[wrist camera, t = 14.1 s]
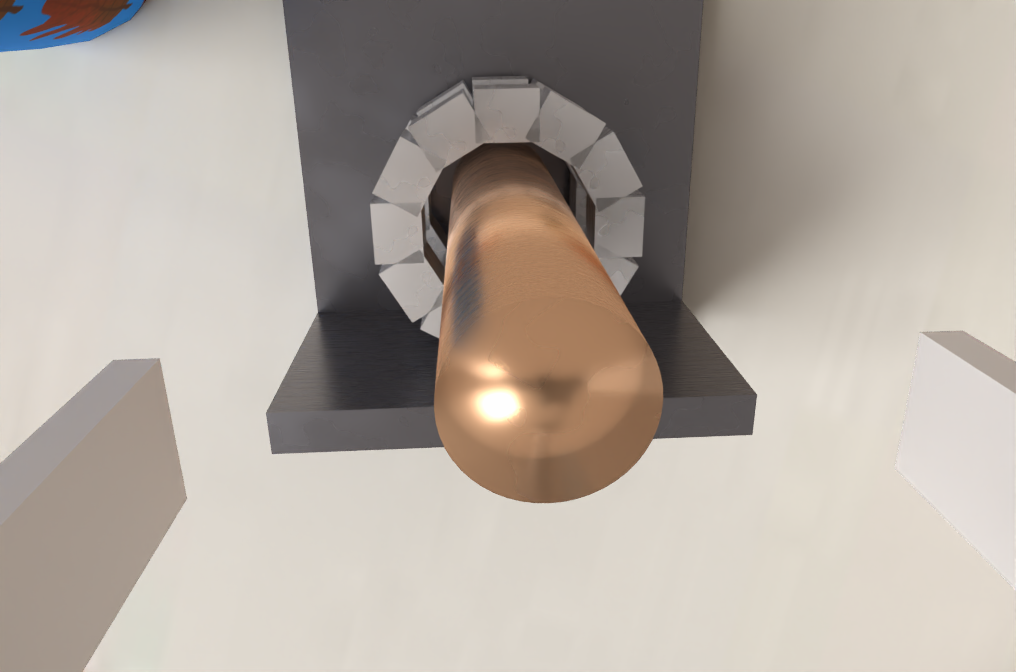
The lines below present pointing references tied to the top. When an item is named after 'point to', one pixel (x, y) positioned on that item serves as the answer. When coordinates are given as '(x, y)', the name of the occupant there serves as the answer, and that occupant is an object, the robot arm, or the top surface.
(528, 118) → the collar stand
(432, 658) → the top surface
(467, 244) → the copper tube
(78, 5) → the thermos
